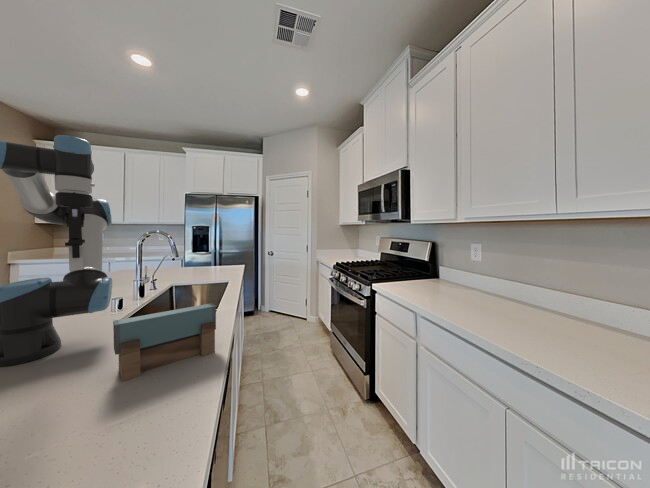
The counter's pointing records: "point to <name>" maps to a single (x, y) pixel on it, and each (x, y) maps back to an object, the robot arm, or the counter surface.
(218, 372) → the counter surface
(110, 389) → the counter surface
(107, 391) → the counter surface
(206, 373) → the counter surface
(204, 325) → the wooden slotted stand
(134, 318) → the rail
